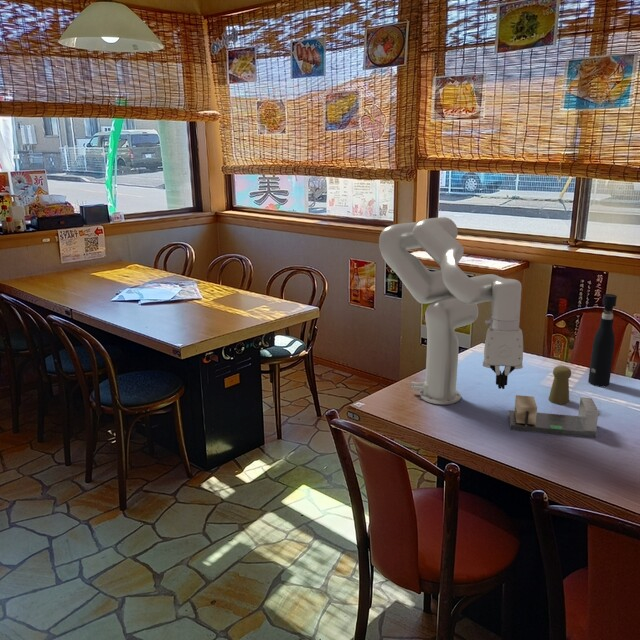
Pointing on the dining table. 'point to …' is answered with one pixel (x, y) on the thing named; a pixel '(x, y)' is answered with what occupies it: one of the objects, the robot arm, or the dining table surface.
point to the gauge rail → (563, 421)
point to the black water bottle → (603, 345)
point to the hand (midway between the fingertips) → (501, 387)
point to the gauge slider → (525, 409)
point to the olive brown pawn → (560, 386)
